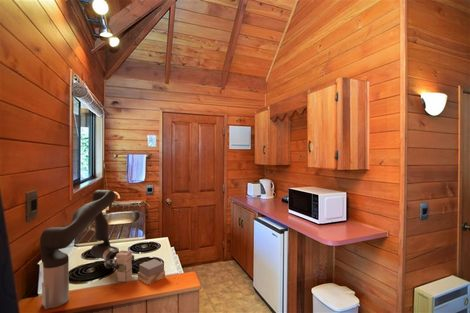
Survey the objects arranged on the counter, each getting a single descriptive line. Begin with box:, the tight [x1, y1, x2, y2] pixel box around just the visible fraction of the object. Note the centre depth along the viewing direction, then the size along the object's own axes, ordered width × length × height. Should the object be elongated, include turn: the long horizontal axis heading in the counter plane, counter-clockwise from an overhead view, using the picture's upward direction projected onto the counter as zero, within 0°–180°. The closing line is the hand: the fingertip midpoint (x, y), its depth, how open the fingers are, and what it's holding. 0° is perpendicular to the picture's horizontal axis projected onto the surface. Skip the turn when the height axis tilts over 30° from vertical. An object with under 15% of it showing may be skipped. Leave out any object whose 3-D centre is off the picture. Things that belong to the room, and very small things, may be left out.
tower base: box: [137, 270, 166, 285], centre depth 131 cm, size 10×10×4 cm
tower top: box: [138, 258, 165, 277], centre depth 131 cm, size 9×9×4 cm
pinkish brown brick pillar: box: [115, 250, 133, 283], centre depth 130 cm, size 6×6×14 cm
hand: (125, 264), depth 128 cm, fingers closed on pinkish brown brick pillar, 7 cm apart
